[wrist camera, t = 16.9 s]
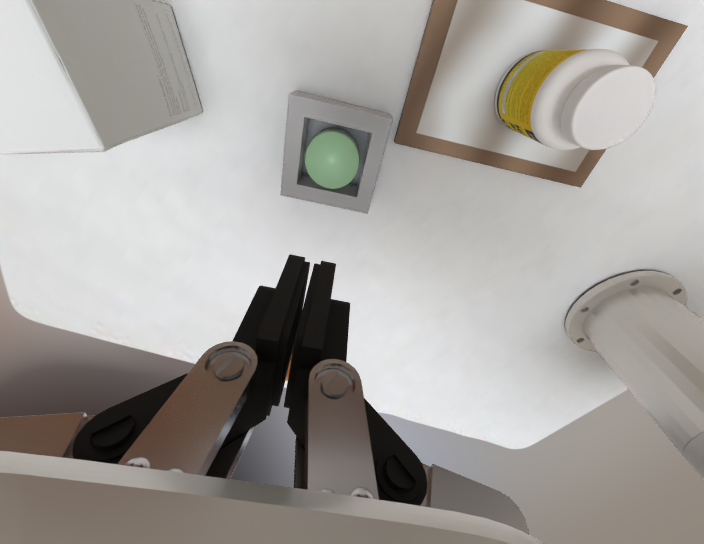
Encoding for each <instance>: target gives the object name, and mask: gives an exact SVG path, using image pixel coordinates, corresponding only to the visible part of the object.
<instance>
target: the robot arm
mask: <svg viewBox="0 0 704 544" xmlns="http://www.w3.org/2000/svg"><path fill="white" fill-rule="evenodd" d="M309 266H310V262H305V257H300V256H295V255H289V257H288V260H287V262H286V265H285V267H284V270H283V272H282V274H281V277H280V279H279V282H278V284H277V287H276V288H270V287H265V286H259V288H258V290H257V292H256V294H255V296H254V298H253V300H252V302H251V304H250V306H249V308H248V310H247V312H246V314H245V316H244V318H243V321H242V323H241V325H240V327H239V329H238V331H237V333H236V335H235V337H234V339H233V341H232V342H223V343H220V344H217V345H215V346H213V347H211V348H210V349H208V350H207V351H206V352H205V353H204V354H203V355H202V356H201V358H200V359H199V360H198V362H197V363H196V364H195V365H194V367H193V368H192V369H191V371H190V372H189V373H187V374H185V375H183V376H181V377H178V378H176V379H174V380H172V381H169V382H167V383H165V384H162V385H160V386H158V387H156V388H153V389H151V390H149V391H147V392H145V393H142V394H140V395H138V396H135V397H133V398H131V399H129V400H127V401H124V402H122V403H120V404H117V405H115V406H113V407H111V408H108V409H106V410H105V411H103V412H101V413H99V414H97V415H96V416H87V415H86V413H85V412H83V413H67V414H51V415H36V416H22V417H4V418H0V544H544V543H543V542H541V541H539V540H537V539H536V538H534V537H532V536H530V535H529V529H528V526H527V523H526V520H525V517H524V516H523V514H522V512H521V511H520V509H519V507H518V506H517V505H516V504H515V503H514V502H513V501H512V500H511V499H510V497H508V496H506V495H505V494H503V493H502V492H500V491H498V490H495V489H493V488H490V487H488V486H485V485H483V484H481V483H478V482H476V481H473V480H471V479H468V478H466V477H463V476H461V475H459V474H456V473H454V472H451V471H449V470H446V469H444V468H442V467H439V466H437V465H434V464H432V466H431V467H430V466H427V465H425V464H423V463H421V462H420V460H419V459H418V457H417V456H416V455H415V454H414V453H413V451H412V450H411V449H410V448H409V447H408V446H407V445H406V444H405V443H404V441H403V440H402V439H401V438H400V437H399V436H398V435H397V434H396V433H395V432H394V430H393V429H392V428H391V427H390V426H389V425H388V424H387V423H386V422H385V420H384V419H383V418H382V417H381V416H380V415H379V414H378V413H377V412H376V411H375V409H374V408H373V407H372V406H371V405H370V404H369V403H368V402H367V401H366V400H365V398H364V396H363V390H362V383H361V379H360V376H359V374H358V372H357V371H356V370H355V368H354V367H352V366H351V365H350V364H349V363H347V362H346V356H347V342H348V327H349V312H350V303H348V302H343V301H338V300H333V299H331V293H332V286H333V280H334V273H335V267H336V264H335V263H330V262H325V261H321V264H314V268H313V272H312V275H311V279H310V283H309V287H308V291H307V295H306V299H305V302H304V297H305V291H306V285H307V279H308V273H309ZM686 301H687V293H686V289H685V287H684V286H683V285H682V284H681V283H680V282H679V281H678V280H676V279H675V278H673V277H672V276H670V275H668V274H666V273H662V272H658V271H638V272H631V273H627V274H623V275H619V276H616V277H614V278H611V279H608V280H606V281H604V282H602V283H600V284H598V285H597V286H595V287H594V288H592V289H590V290H589V291H587V292H586V293H585V294H584V295H583V296H581V297H580V298H579V299H578V300H577V302H576V303H575V304H574V305H573V306H572V308H571V309H570V311H569V312H568V315H567V318H566V322H565V328H566V332H567V334H568V336H569V337H570V339H571V340H572V341H573V342H574V343H575V344H576V345H577V346H579V347H581V348H583V349H586V350H590V351H597V352H599V353H600V355H601V356H602V357H603V358H604V360H605V361H606V362H607V363H608V365H609V366H610V367H611V368H612V369H613V371H614V372H615V373H616V374H617V376H618V377H619V378H620V379H621V381H622V382H623V383H624V384H625V385H626V387H627V388H628V389H629V390H630V391H631V393H632V394H633V395H634V396H635V398H636V399H637V400H638V401H639V403H640V404H641V405H642V406H643V408H644V409H645V410H646V411H647V412H648V414H649V415H650V416H651V417H652V419H653V420H654V421H655V422H656V423H657V424H658V426H659V427H660V428H661V430H662V431H663V432H664V433H665V435H666V436H667V437H668V438H669V440H670V441H671V442H672V443H673V444H674V446H675V447H676V448H677V449H678V450H679V451H680V453H681V454H682V455H683V456H684V457H685V459H686V460H687V461H688V463H689V464H690V465H691V466H692V467H693V468H694V470H695V471H696V472H697V473H698V474H699V475H700V476H701V478H702V479H703V480H704V320H702V319H701V318H700V317H698V316H697V315H696V314H694V313H693V312H692V311H690V310H689V309H688V308H687V307H685V304H686ZM303 303H304V306H303ZM302 309H303V310H302ZM291 356H292V358H291ZM290 360H291V364H290ZM289 364H290V371H289V377H288V384H287V390H286V397H285V403H284V407H287V408H290V409H289V415H288V421H287V423H288V425H289V426H290V427H291V429H292V430H293V432H294V433H295V434H296V440H295V463H294V487H293V488H290V487H283V486H276V485H268V484H261V483H254V482H246V481H239V480H231V479H230V478H231V476H232V474H233V472H234V470H235V468H236V465H237V463H238V461H239V459H240V457H241V455H242V453H243V451H244V448H245V446H246V444H247V442H248V440H249V438H250V436H251V433H252V430H253V427H254V426H256V425H257V424H259V423H260V422H262V421H263V420H265V419H266V416H267V415H268V416H269V415H270V411H271V408H272V405H274V406H278V405H279V403H280V398H281V395H282V391H283V387H284V383H285V379H286V376H287V372H288V368H289Z"/></svg>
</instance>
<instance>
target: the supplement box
mask: <svg viewBox="0 0 704 544" xmlns="http://www.w3.org/2000/svg"><path fill="white" fill-rule="evenodd" d="M201 113H202V108H201V105H200V101H199V98H198V94H197V91H196V88H195V84H194V81H193V78H192V75H191V71H190V68H189V65H188V61H187V58H186V55H185V51H184V48H183V45H182V41H181V38H180V35H179V32H178V28H177V25H176V22H175V18H174V15H173V12H172V8H171V6H170V5H167V4H164V3H161V2H157V1H153V0H0V154H32V153H74V152H105V151H107V150H109V149H111V148H113V147H115V146H117V145H120V144H122V143H124V142H127V141H130V140H132V139H135V138H138V137H140V136H143V135H146V134H148V133H151V132H154V131H157V130H160V129H163V128H165V127H168V126H171V125H173V124H176V123H179V122H181V121H184V120H186V119H188V118H191V117H193V116H196V115H198V114H201Z"/></svg>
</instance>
